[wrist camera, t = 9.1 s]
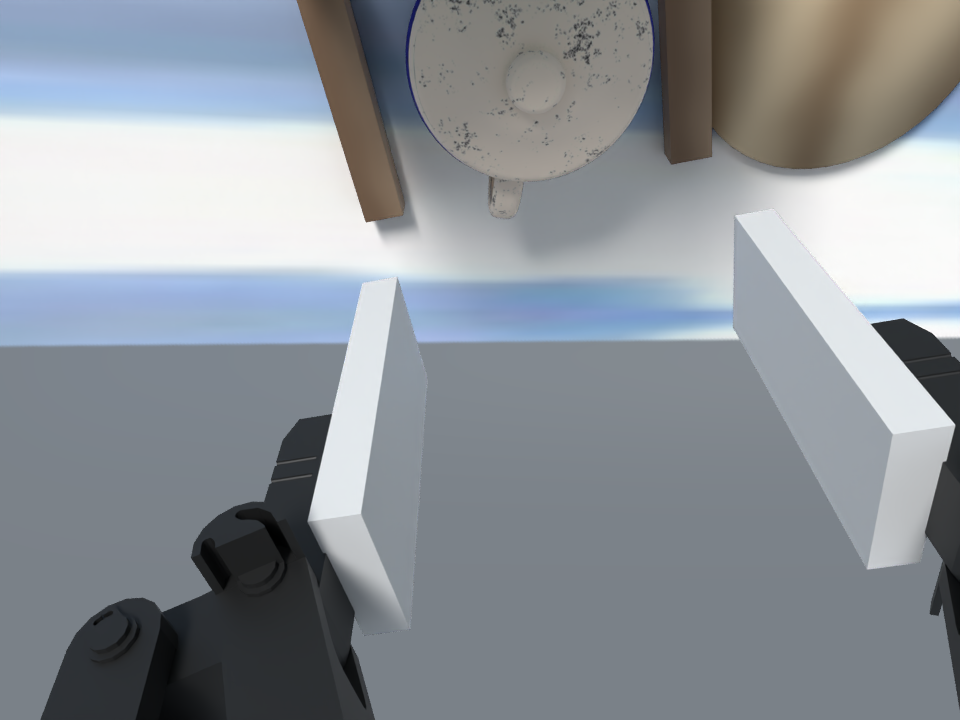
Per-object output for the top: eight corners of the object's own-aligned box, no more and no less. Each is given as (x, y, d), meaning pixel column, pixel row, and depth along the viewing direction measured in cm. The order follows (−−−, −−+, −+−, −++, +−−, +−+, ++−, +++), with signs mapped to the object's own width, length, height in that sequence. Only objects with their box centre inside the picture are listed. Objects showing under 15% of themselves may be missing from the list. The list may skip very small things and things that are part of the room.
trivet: (687, 185, 38) (690, 191, 38) (678, -127, 30) (683, -126, 29) (963, 134, 37) (972, 139, 36) (1032, -208, 29) (1045, -208, 28)
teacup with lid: (424, -113, 30) (405, -93, 21) (635, -86, 31) (710, -54, 22) (409, 162, 37) (390, 272, 28) (582, 180, 38) (621, 292, 28)
